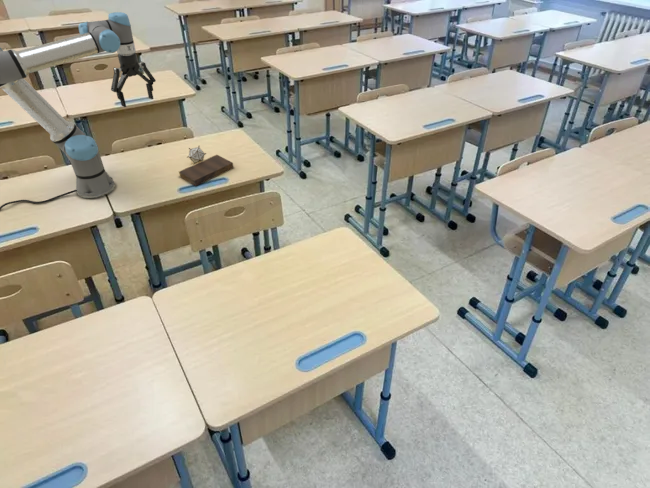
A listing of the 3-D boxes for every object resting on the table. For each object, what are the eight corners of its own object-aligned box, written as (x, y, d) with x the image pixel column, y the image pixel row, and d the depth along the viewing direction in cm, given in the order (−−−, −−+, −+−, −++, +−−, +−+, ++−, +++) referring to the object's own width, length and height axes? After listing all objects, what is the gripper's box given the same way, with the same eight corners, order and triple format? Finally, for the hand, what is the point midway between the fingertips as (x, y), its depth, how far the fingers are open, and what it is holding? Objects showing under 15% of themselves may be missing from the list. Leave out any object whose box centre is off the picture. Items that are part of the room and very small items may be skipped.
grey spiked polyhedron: (202, 170, 221) (203, 161, 212) (184, 165, 219) (185, 155, 210) (206, 155, 224) (208, 145, 215) (189, 149, 222) (190, 139, 213)
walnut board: (195, 186, 203) (194, 180, 201) (179, 176, 209) (178, 171, 207) (233, 168, 216) (232, 162, 214) (217, 159, 222) (216, 154, 220)
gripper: (103, 61, 182) (116, 112, 195) (157, 49, 197) (166, 97, 210) (94, 57, 186) (107, 107, 199) (148, 46, 201) (157, 93, 214)
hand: (137, 102), depth 205 cm, fingers open, 13 cm apart
